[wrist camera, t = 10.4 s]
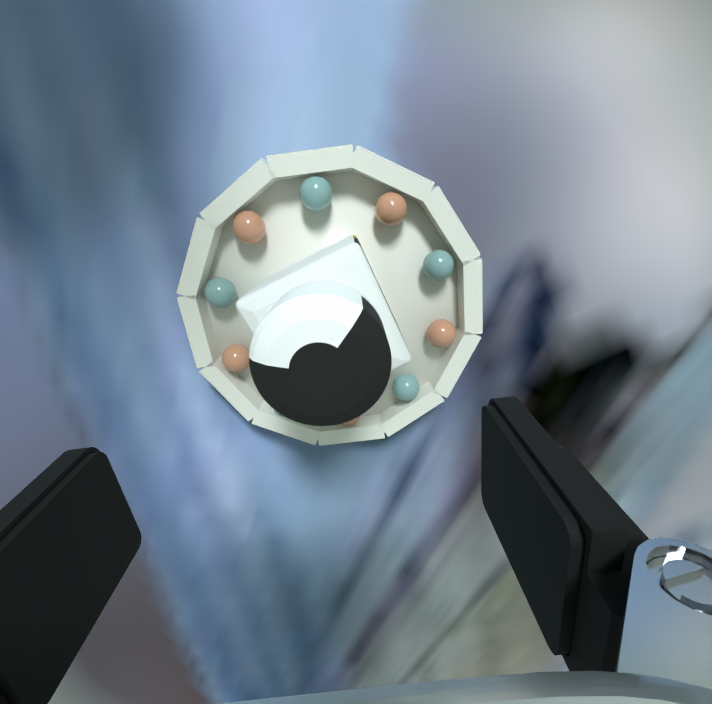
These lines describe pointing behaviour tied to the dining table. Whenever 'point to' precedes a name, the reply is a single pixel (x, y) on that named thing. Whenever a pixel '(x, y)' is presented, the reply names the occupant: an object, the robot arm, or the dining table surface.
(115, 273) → the dining table surface
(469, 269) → the tray
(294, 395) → the medicine bottle
